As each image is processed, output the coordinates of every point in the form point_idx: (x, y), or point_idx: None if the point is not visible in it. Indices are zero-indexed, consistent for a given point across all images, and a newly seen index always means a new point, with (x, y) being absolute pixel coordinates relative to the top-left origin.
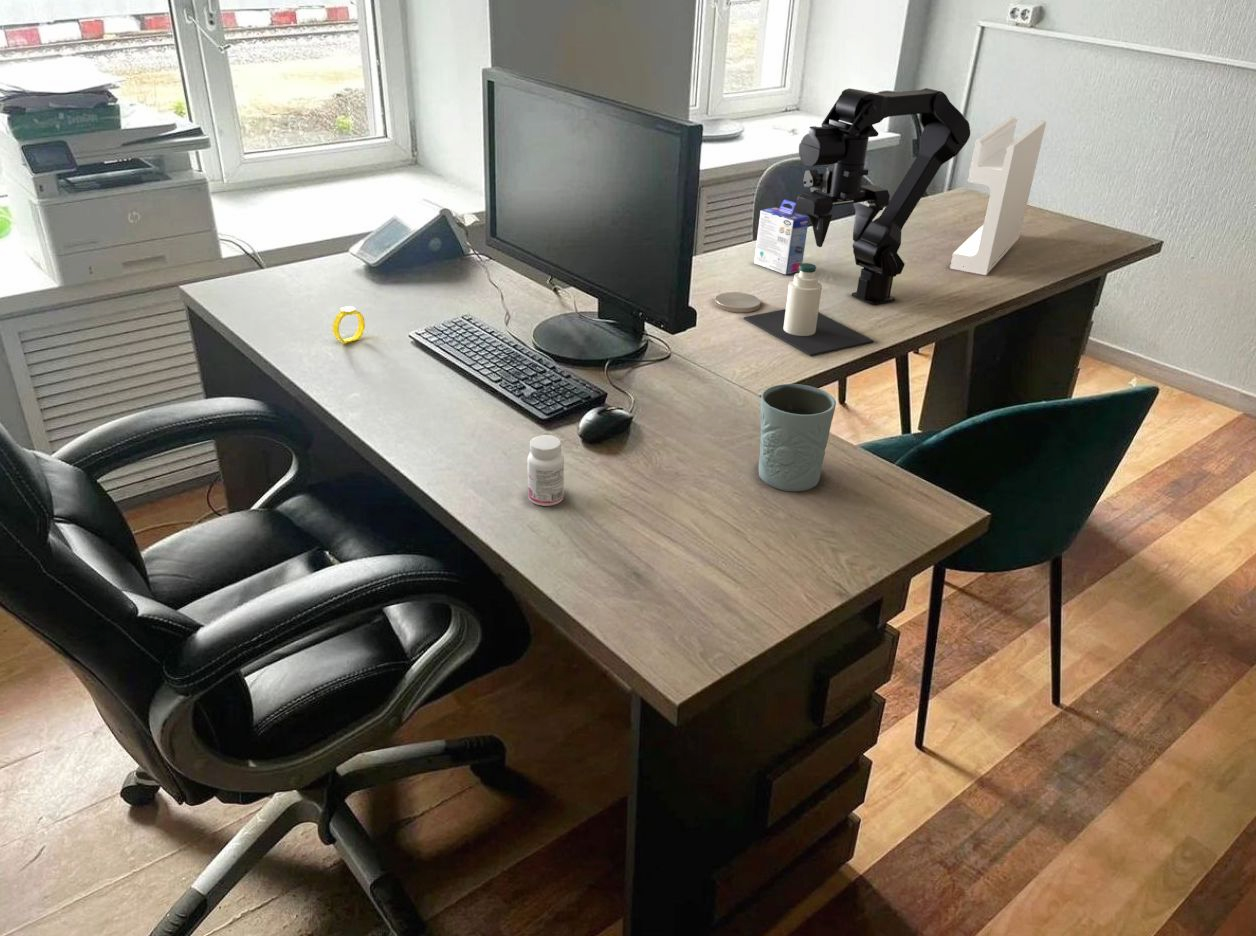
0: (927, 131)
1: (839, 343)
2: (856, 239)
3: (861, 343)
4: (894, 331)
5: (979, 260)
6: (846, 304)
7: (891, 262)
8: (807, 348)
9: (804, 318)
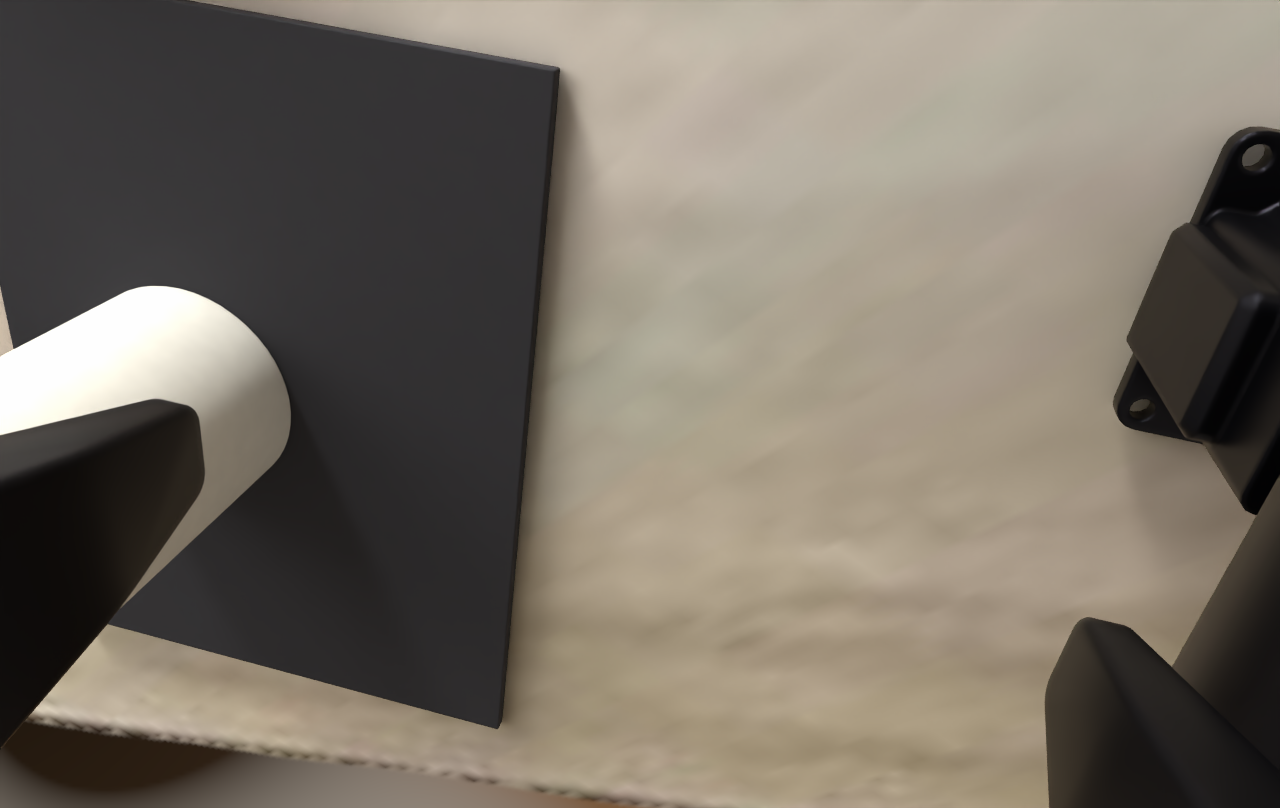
0: None
1: (292, 638)
2: (1054, 717)
3: (411, 702)
4: (753, 727)
5: None
6: (955, 249)
7: None
8: None
9: None
